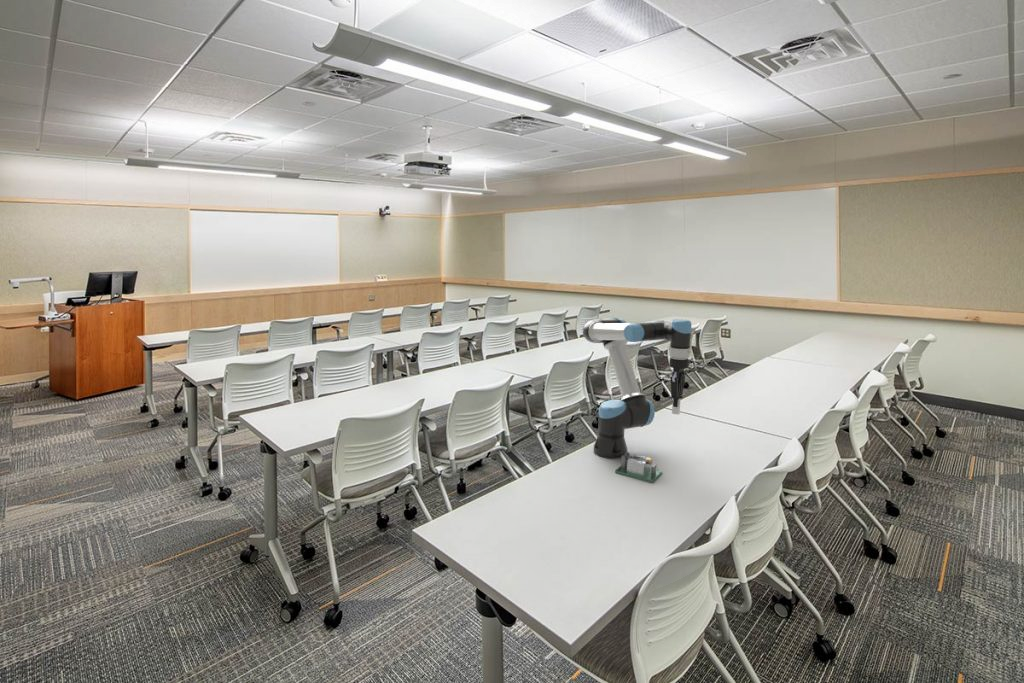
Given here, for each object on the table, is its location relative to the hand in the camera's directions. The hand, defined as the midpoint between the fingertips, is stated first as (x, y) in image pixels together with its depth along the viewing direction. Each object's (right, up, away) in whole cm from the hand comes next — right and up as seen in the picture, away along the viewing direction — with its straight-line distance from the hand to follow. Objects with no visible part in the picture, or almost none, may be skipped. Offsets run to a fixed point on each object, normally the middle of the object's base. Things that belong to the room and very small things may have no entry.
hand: (675, 413), depth 214 cm
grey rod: (-16, -20, 0) cm, 25 cm away
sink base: (-15, -25, 0) cm, 29 cm away
